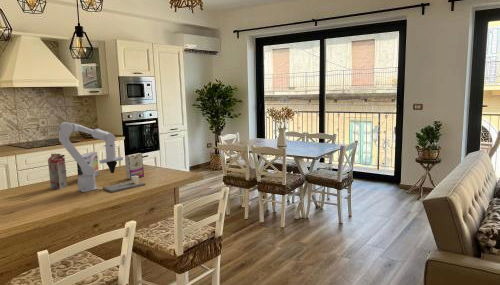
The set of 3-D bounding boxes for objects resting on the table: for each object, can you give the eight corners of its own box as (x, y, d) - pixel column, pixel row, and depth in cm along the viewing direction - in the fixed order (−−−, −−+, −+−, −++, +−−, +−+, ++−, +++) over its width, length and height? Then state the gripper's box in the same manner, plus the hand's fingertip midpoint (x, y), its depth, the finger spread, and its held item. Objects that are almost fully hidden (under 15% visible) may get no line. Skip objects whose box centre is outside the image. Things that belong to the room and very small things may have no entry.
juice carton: (60, 189, 224) (56, 154, 221) (50, 188, 225) (47, 154, 222) (67, 186, 231) (64, 152, 227) (58, 186, 232) (55, 152, 229)
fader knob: (134, 183, 228) (134, 177, 227) (131, 182, 231) (131, 176, 230) (139, 182, 230) (138, 176, 230) (136, 181, 233) (135, 175, 233)
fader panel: (111, 192, 214) (111, 190, 213) (103, 189, 222) (103, 187, 222) (145, 185, 229) (144, 183, 229) (135, 182, 237) (135, 180, 237)
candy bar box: (139, 175, 256) (138, 152, 253) (144, 176, 253) (142, 153, 250) (126, 178, 247) (124, 155, 245) (130, 179, 244) (128, 156, 242)
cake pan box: (83, 182, 240) (81, 156, 237) (76, 182, 241) (74, 156, 238) (99, 175, 259) (97, 151, 256) (93, 175, 260) (91, 151, 257)
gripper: (102, 154, 218) (103, 175, 221) (124, 151, 229) (126, 171, 231) (97, 153, 223) (99, 174, 225) (119, 149, 234) (121, 170, 236)
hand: (112, 172), depth 228 cm, fingers closed
